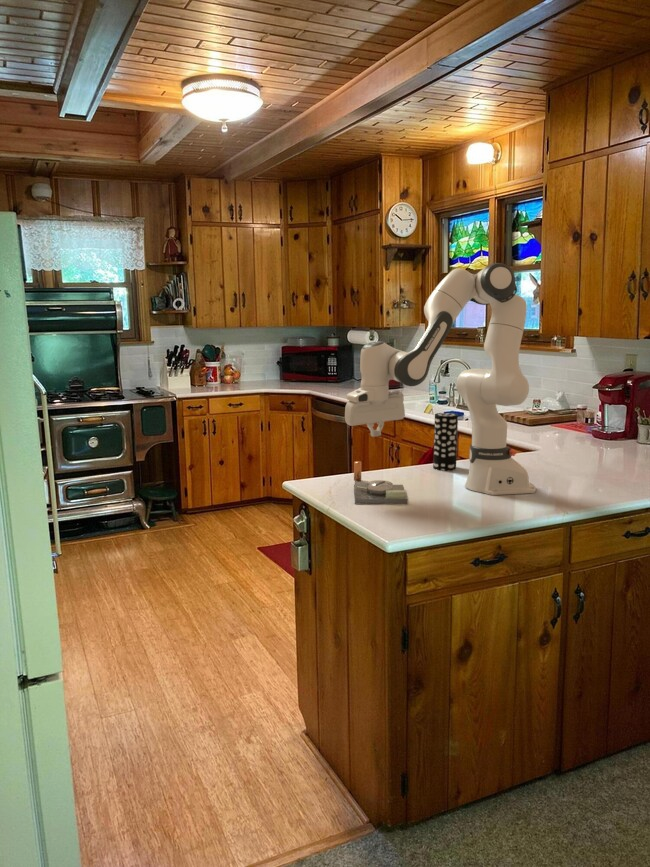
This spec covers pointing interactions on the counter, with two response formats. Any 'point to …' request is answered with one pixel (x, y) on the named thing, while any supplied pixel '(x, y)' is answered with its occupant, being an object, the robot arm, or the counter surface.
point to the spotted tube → (445, 441)
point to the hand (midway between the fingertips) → (375, 435)
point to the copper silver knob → (370, 482)
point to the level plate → (381, 496)
